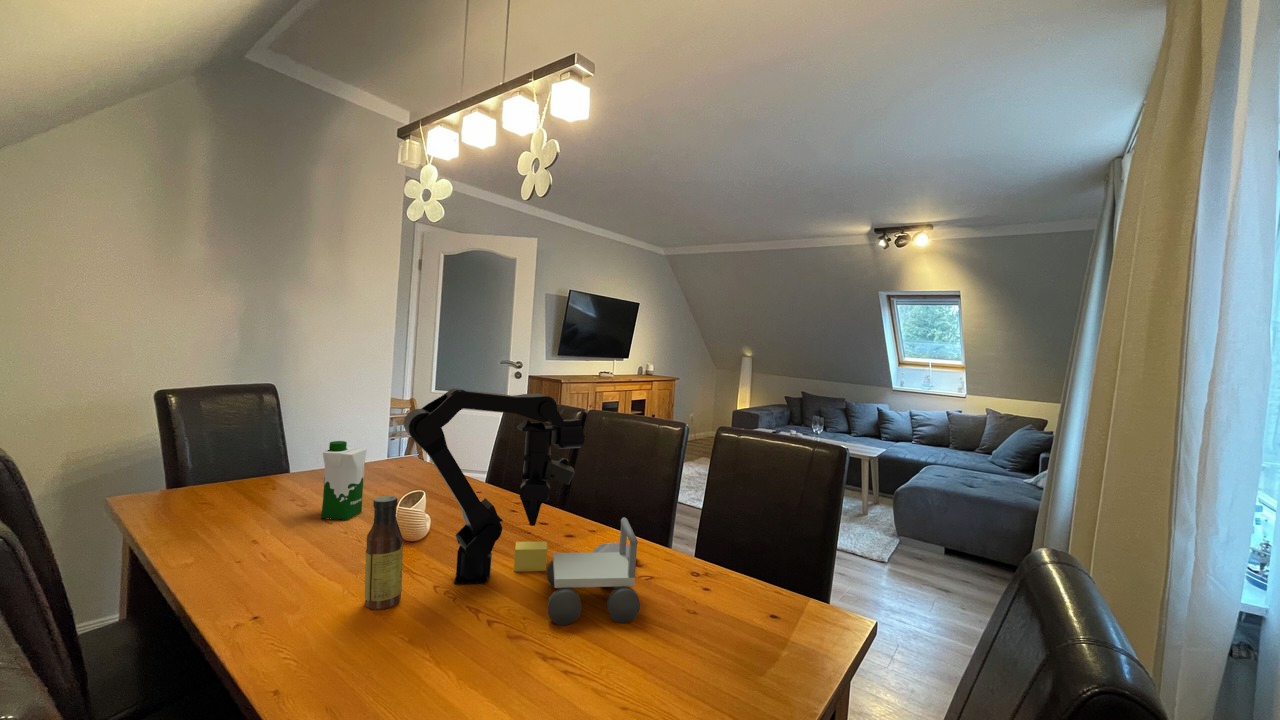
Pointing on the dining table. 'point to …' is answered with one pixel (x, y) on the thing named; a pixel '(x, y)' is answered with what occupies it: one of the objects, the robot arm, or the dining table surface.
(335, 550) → the dining table surface
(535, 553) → the chock
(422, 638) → the dining table surface
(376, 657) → the dining table surface
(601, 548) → the stone block
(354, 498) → the milk carton
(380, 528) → the sauce bottle
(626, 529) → the trolley
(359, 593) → the dining table surface
